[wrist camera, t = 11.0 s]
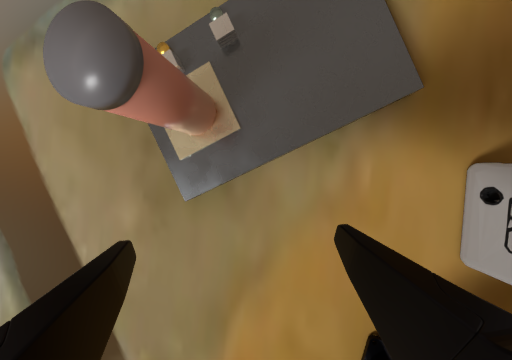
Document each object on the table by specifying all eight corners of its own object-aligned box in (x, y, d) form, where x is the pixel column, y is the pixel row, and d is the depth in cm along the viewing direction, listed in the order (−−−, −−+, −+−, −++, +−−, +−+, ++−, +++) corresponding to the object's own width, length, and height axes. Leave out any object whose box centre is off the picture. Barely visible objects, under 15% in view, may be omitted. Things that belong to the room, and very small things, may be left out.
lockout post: (220, 129, 20) (140, 90, 9) (179, 140, 21) (58, 116, 10) (210, 83, 20) (114, -15, 9) (168, 95, 20) (32, 20, 9)
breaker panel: (413, 93, 19) (436, 80, 16) (191, 198, 23) (177, 204, 20) (343, -60, 18) (354, -100, 15) (133, 76, 23) (111, 63, 20)
